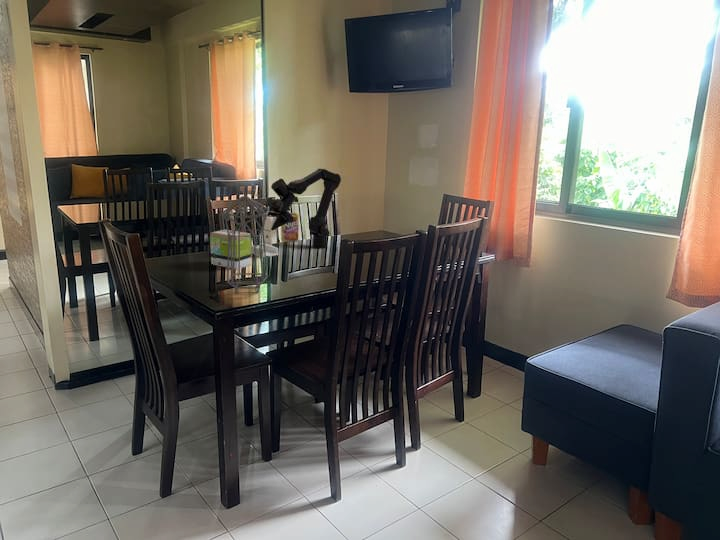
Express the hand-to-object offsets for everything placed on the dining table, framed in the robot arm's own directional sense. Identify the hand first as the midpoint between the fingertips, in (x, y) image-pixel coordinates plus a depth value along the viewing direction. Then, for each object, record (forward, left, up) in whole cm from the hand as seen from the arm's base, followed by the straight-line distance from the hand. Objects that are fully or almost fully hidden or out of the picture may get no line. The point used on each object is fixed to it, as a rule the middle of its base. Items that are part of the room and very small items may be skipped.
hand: (267, 229), depth 245 cm
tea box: (+19, +10, -14) cm, 26 cm away
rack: (0, -8, -13) cm, 16 cm away
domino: (-1, -1, -7) cm, 7 cm away
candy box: (-21, -34, -14) cm, 42 cm away
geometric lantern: (+21, +51, -14) cm, 57 cm away
